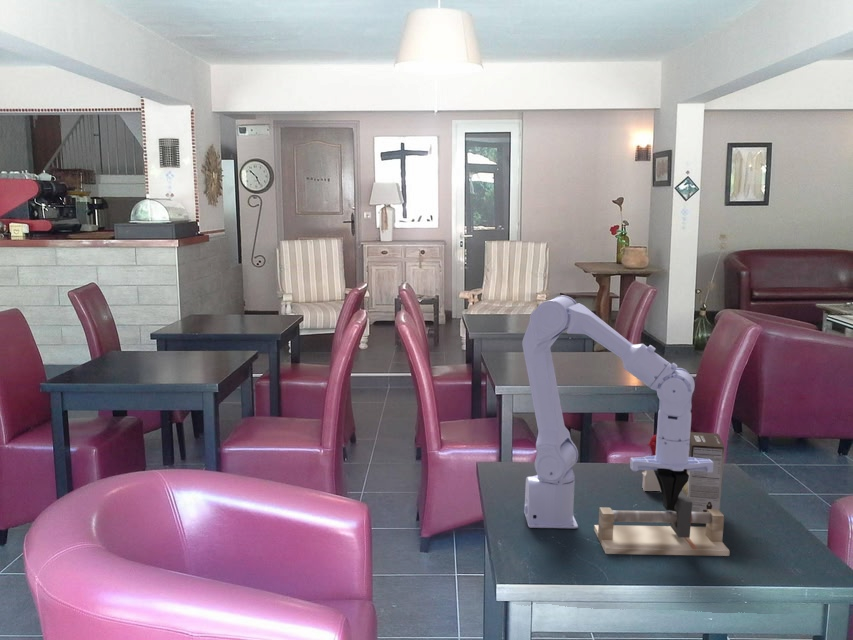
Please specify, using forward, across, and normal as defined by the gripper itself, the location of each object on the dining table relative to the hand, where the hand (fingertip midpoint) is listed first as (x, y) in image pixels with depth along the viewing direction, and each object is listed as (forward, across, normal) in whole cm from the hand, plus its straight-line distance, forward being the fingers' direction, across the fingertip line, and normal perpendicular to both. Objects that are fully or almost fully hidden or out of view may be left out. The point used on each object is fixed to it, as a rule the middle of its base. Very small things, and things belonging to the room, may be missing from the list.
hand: (668, 508), depth 139 cm
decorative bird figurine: (+7, +14, +37) cm, 40 cm away
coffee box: (+7, +11, +13) cm, 18 cm away
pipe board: (+7, -1, 0) cm, 7 cm away
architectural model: (+7, +6, +26) cm, 28 cm away
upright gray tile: (+4, +2, 0) cm, 5 cm away
